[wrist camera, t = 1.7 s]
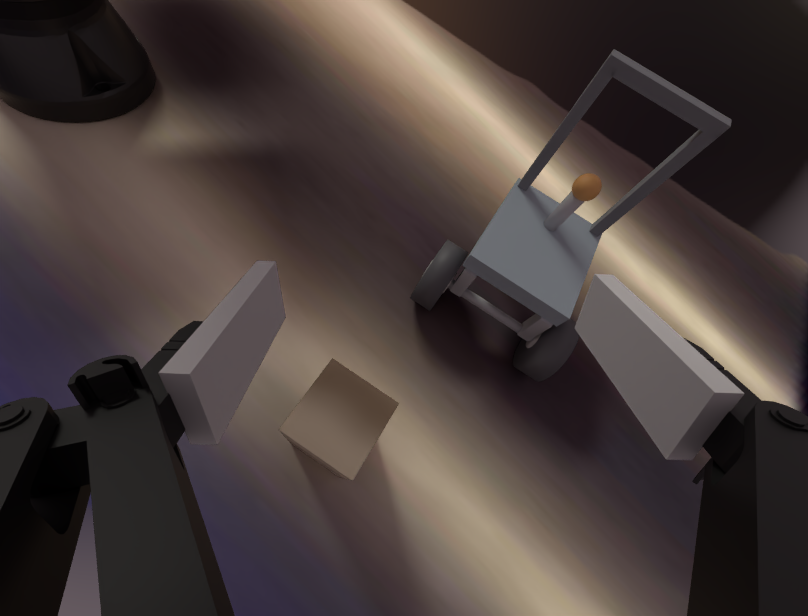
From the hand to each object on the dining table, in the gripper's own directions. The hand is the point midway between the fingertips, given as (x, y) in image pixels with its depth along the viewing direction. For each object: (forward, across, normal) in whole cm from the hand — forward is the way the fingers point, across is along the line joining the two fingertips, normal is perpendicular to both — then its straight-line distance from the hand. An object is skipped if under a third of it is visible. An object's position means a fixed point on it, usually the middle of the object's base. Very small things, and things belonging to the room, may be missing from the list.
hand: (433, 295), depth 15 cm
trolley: (+21, +9, -13) cm, 26 cm away
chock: (+7, -7, -18) cm, 20 cm away
